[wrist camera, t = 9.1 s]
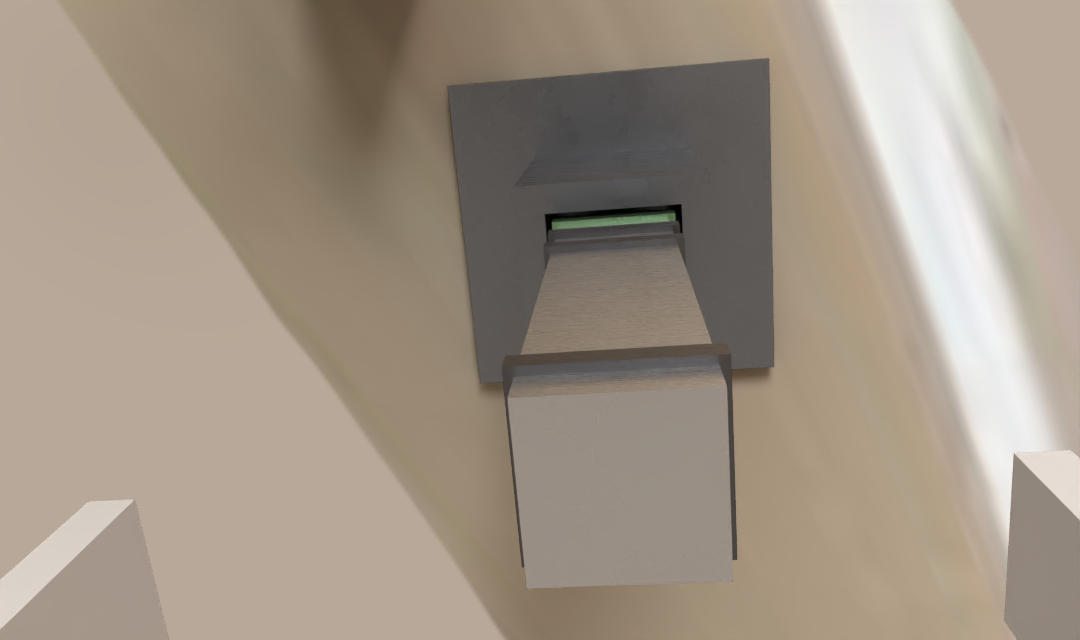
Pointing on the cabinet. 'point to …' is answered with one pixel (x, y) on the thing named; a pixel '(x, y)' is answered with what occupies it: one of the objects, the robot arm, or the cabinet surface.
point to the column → (621, 414)
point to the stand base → (619, 188)
